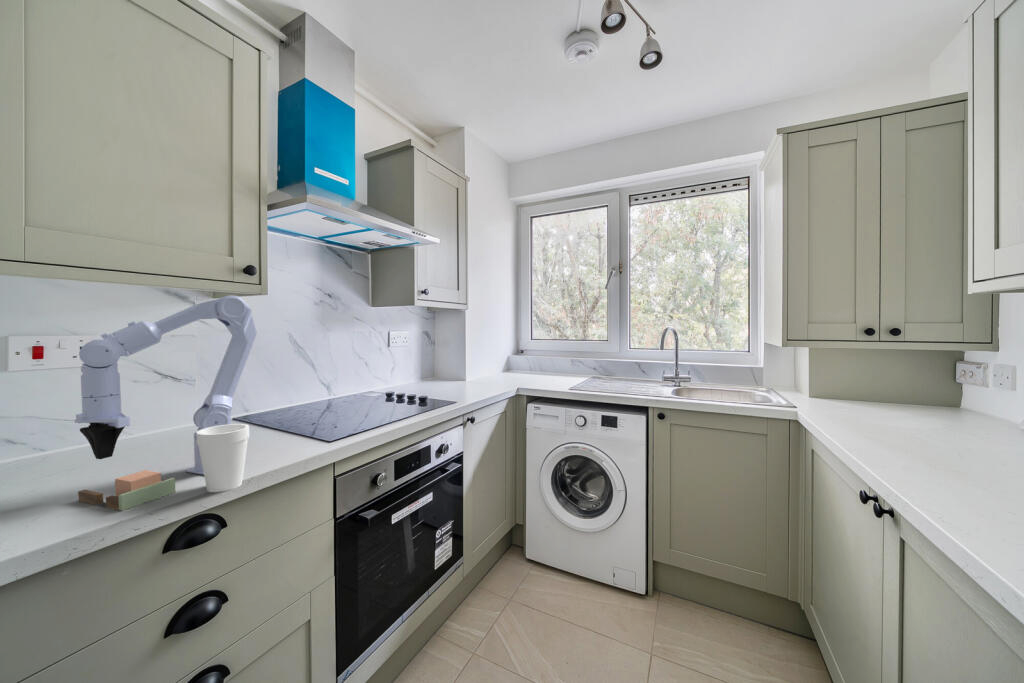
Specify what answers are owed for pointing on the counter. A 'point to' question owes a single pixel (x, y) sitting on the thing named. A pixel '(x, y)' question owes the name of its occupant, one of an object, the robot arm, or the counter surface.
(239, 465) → the foam cup
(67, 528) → the counter surface
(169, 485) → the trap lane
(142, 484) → the terracotta block
